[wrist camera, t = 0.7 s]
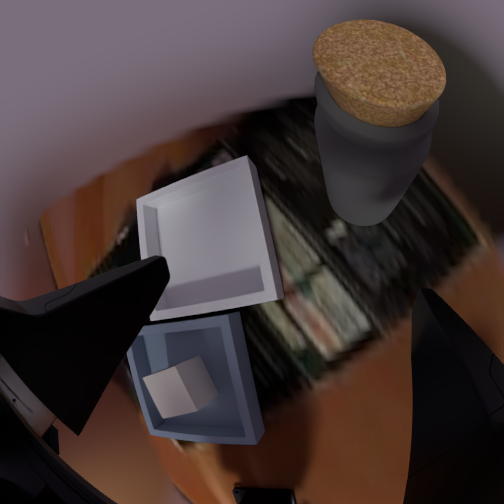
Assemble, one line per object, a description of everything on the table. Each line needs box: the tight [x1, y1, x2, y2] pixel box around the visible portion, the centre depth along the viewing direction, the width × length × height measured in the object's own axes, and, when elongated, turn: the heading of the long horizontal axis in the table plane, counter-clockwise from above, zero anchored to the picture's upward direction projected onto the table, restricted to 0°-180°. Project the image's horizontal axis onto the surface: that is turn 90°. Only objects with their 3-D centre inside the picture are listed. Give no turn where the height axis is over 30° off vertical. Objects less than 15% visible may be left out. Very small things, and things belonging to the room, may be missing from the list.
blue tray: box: [127, 311, 265, 445], centre depth 22 cm, size 12×12×2 cm
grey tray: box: [137, 155, 285, 321], centre depth 23 cm, size 12×12×2 cm
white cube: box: [143, 355, 219, 419], centre depth 21 cm, size 4×4×4 cm
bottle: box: [313, 20, 446, 226], centre depth 13 cm, size 6×6×15 cm
